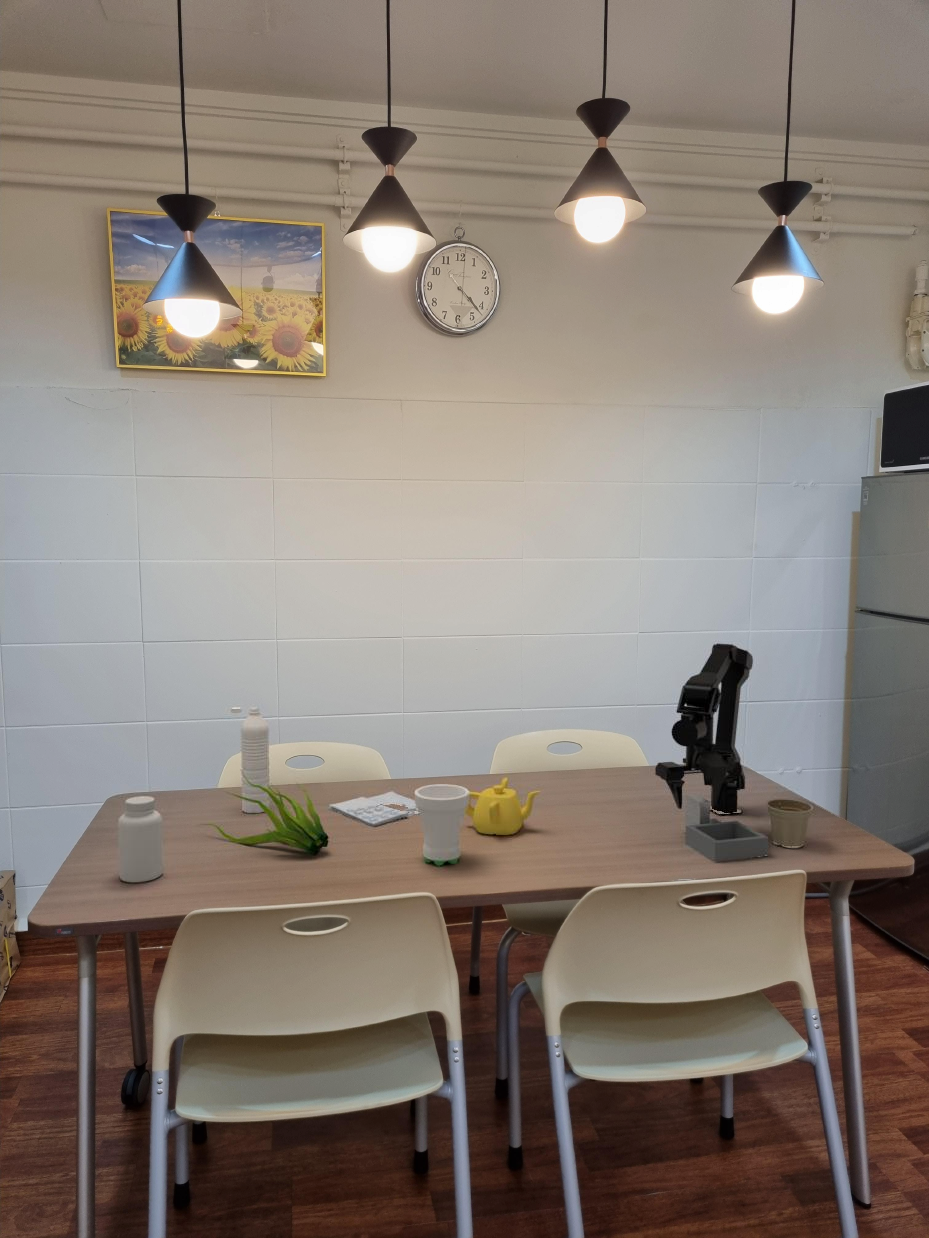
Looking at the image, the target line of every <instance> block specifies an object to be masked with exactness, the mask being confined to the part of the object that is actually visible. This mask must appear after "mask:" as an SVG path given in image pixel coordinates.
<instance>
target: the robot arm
mask: <svg viewBox="0 0 929 1238" xmlns="http://www.w3.org/2000/svg"><path fill="white" fill-rule="evenodd" d="M753 665H754V658H753V655H752V654H751V653H750V652H749V651H748V650H746V649H742V648H740V647H737V646H736V645H734V644H732V643H730V644H729V643H715V644H713V645H712V648H711V653H710V655H709V657H708V658H707V659H706V661H705V663H704V665H703V667H702V668H701V670H700V672H699V673H698V674H695V675H692V676H690V678H689V679H688V680H687V681H686V682H685V684H684V685H682V688H681V691H680V695H679V700H678V704H677V707H676V713H677V714H680V719H679V720H677V721H675V723H674V724H673V725H672V728H671V736H672V739H673V740H674V742H675V743H676V744H678V745H679V746H681V747H685V757H683V758H682V763H683V764H685V765H681V764H678V763H677V762H674V761H665V762H664V761H663V762H658V763H657V764H656V766H655V770H654V771H655V772H654V773H655V776H657V777H659V778H660V779H661V780H664V781H665V782H666V784H667V786H668V788H669V790H670V793H671V795H672V798H673V800H674V802H675V804H676V807H677V809H679V810H682V807H683V786H684V784H685V783H686V781H685V780H683V778H684V777H685V775H693V774H703V775H702V776H703V784H704V786H711V790H710V795H711V796H710V805H711V806H712V809H714V810H717V811H722V812H724V813H733V812H737V809H738V798H739V797H738V791H740V790H745V789H746V775H745V773H744V770H743V765H742V764H741V757H740V755H739V752H738V750H737V748H736V737H737V728H738V717H739V707H740V699H741V690H742V689H741V687H742V686H743V685H744V684H745V682H746V681H747V680H748V679H749V678H750V671H751V670H752V668H753ZM719 685H720V688H719ZM717 712H718V713H717ZM715 713H717V723H716V732H715V740H714V715H715ZM714 741H715V742H714Z"/></svg>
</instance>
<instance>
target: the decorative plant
mask: <svg viewBox="0 0 929 1238" xmlns="http://www.w3.org/2000/svg"><path fill="white" fill-rule="evenodd" d="M240 771H241V774H242V773H243V772H242V768H241V769H240ZM243 775H244V774H243ZM244 777H245V776H244ZM245 778H246V777H245ZM246 780H247V778H246ZM247 781H248V780H247ZM248 783H249V784H250V785H252V786H253V787H257V788H260V789H262V790H263V791H265V792H267V794H268V795H269V796H270V797H269V798H270V799H271V800H272V802H273V803H274V804H275V805H276V807H277V809H278V812H279V816H280V818H281V820H282V821H281V820H280V818H279V817H278V816H277V814H276V813H275V811H273V810H272V809H271V808H268V807H267V806H266V805H264V804H263V803H262V802H261V801H258V800H253V799H249V798H245V797H242V795H238V794H234V793H231V792H228V791H225V790H223V789H220V791H222V792H224V793H227V794H230V795H232V796H234V797H237V798H239V799H242V800H243V799H245V800H247V801H251V802H254V803H258V804H259V805H260V807H261V808H262V809H263V810H264V811H265V812H264V813H265V814H266V816H268V818H269V819H270V821H271V822H272V824H273V825H274V827H275V829H273V830H271V829H269V827H268V826H266V828H267V831H269V832H266V833H262V834H257V835H252V836H246V837H241V838H236V837H234V836H232V835H230V834H228V833H226V832H225V831H224V830H223V829H222V828H221V827H220V826H219V825H218V824H214V823H202V824H199V825H196V826H195V828H197V827H200V826H203V825H204V826H214V828H216V829H217V830H218V831H219V833H220V834H221V835H222V836H223V837H224V838H226V839H228V840H229V841H231V842H233V843H235V844H242V845H250V846H255V845H261V844H267V843H268V844H269V843H285V844H287V845H290V846H291V847H293V848H296V849H297V848H298V849H301V850H302V851H305V852H307V853H308V854H311V855H312V856H317V855H318V854H319V853H320V850H321V849H323V848H327V847H328V844H329V842H330V840H329V836H328V834H327V833H326V832H325V830H324V826H323V825H322V823H321V819H320V817H319V814H318V813H317V812H316V811H315V809H314V805H313V802H312V799H311V798H310V795H309V794H308V792H307V791H306V789H305V788H303V787H302V786H300V785H299V784H298V782H297V781H295V784H296V785H297V787H298V788H300V789H301V790H302V791H303V792H304V794H305V796H306V801H307V803H306V804H307V806H306V808H307V812H308V814H309V816H310V818H311V819H310V818H309V816H307V813H306V811H305V810H304V809H303V807H302V806H301V805H300V804H299V803H298V802H296V801H295V800H294V799H292V798H290V797H289V796H287V795H286V794H282V793H281V792H280V791H279V790H278V788H277V787H274V789H275V790H276V791H277V792H276V791H275V790H273V789H272V788H271V787H270V785H271V786H273V784H272V783H271V782H270V783H269V785H268V788H269V789H267V788H265V787H263V786H261V785H253V784H251V783H250V782H249V781H248ZM277 796H279V798H278V797H277ZM283 798H284V799H285V800H286V802H288V803H290V806H291V807H292V809H293V811H294V813H295V816H294V815H293V814H291V812H290V811H289V810H288V809H287V807H286V806H285V803H284V801H283Z"/></svg>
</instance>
